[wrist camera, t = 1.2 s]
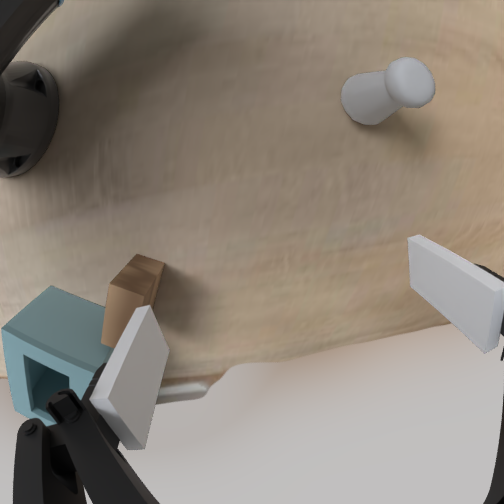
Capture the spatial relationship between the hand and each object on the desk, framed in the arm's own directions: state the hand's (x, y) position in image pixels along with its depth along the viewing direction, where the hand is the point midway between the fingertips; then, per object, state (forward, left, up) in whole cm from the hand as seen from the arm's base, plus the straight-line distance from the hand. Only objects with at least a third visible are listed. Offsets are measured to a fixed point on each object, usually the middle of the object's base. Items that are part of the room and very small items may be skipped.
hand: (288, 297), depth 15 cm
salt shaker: (+6, +16, -21) cm, 27 cm away
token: (-10, -12, -21) cm, 26 cm away
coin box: (-17, -24, -21) cm, 36 cm away
